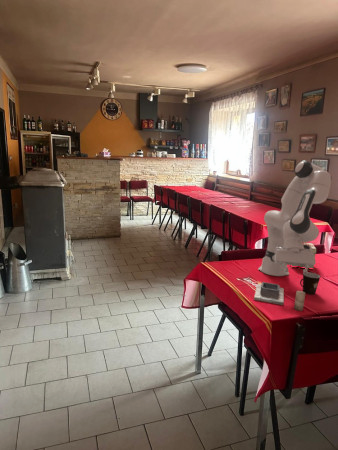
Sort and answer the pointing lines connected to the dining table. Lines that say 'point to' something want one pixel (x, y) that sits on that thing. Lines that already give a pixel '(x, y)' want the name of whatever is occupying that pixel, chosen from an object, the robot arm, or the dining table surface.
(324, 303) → the dining table surface
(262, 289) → the grey block with recess
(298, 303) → the disc
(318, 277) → the coffee mug
